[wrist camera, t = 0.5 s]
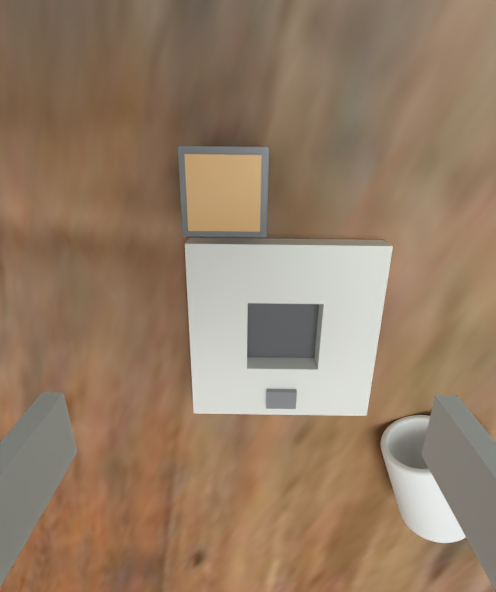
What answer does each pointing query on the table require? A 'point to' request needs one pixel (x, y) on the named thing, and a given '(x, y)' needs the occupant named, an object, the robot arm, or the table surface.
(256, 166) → the plug
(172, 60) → the table surface
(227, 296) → the socket plate
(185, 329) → the table surface
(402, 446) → the mug
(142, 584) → the table surface
